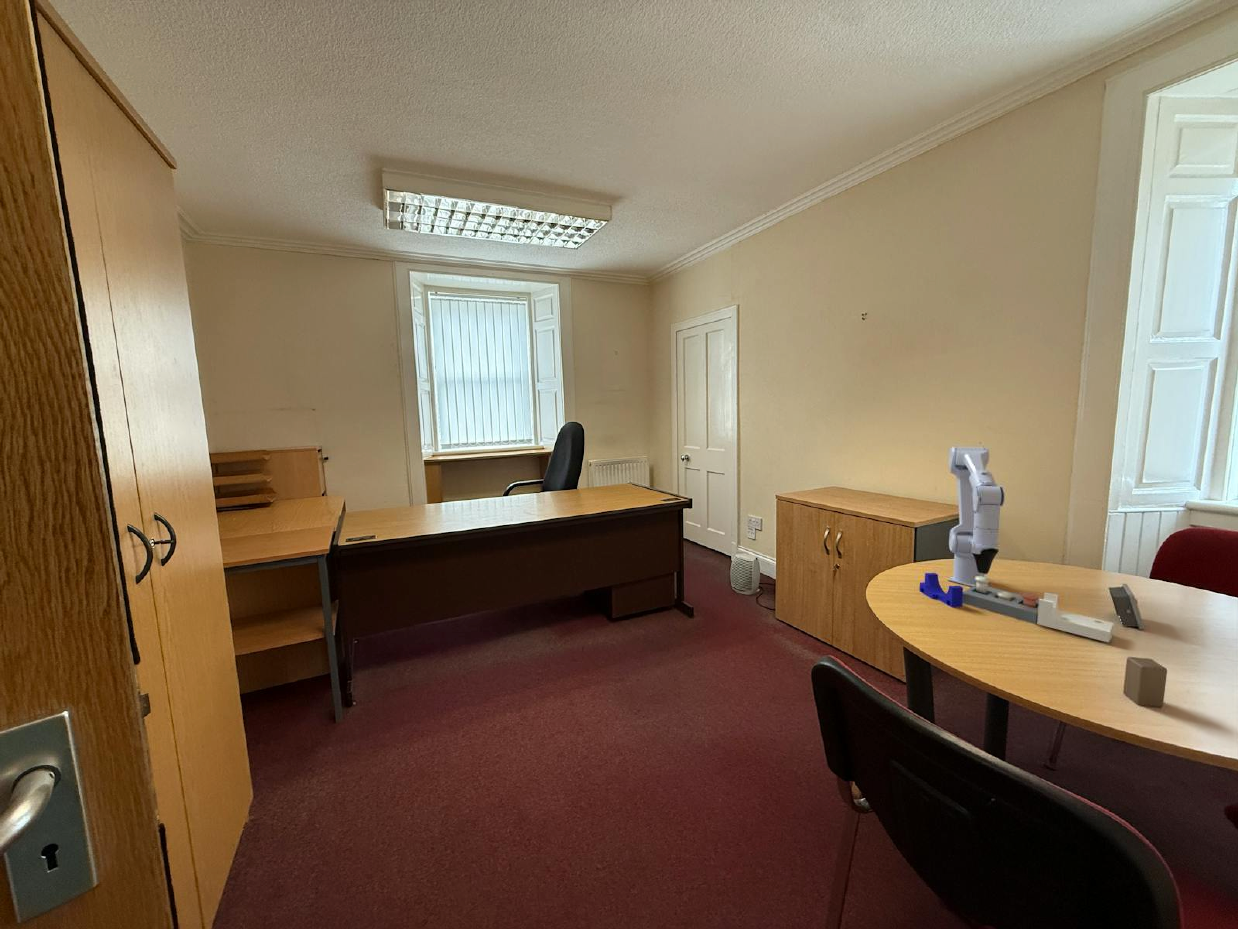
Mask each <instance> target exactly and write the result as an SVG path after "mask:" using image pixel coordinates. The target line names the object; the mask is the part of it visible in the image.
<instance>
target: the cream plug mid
mask: <svg viewBox="0 0 1238 929" xmlns="http://www.w3.org/2000/svg"><path fill="white" fill-rule="evenodd" d="M1008 592H1009V591H1007V592H1002V591H1000V592H997V596H998V597H999V599H1003V600H1007V601H1011V599H1012V598H1013V595H1012V594H1011V593H1012V592H1011V593H1008Z"/></svg>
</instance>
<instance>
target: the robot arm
mask: <svg viewBox="0 0 1238 929" xmlns="http://www.w3.org/2000/svg"><path fill="white" fill-rule="evenodd" d="M989 460H990V452H989V449H988V448H987V446H980V447H979V446H951V448H950V449H949V453H948V463H949V464H948V466H949V467H948V468H949V472H950V474H953V475H954V476H955V477H956V483H957V495H958V496H957V498H958V501H957V502H958V519H959V522H958V523H959V524H957V525H955V526H954V527H952V528H951V529H950V531H949V538H948V546H949V550H950V552H951V553H954V556H953V569H952V570H953V573H952V575H953V576H950V577H948V578H947V580H948V581H950V582H954V583H958V584H961V585H965V586H969V587H973V586H975V585H977V581H976V580H975V577H976V576H982V577H986V576H985V575H988V574H989V572H990V569H991V567H992V564H993V560H994V559H995V557H996V555H997V554H998V553H999V549H997V548H998V547H999V530H1000V529H999V528H1000V519H1001V516H1000V515H1001V507H1003V506H1004V504H1005V499H1006V498H1005V497H1006V496H1005V489H1004V486H1003V485H1000V484H997V482H996V480H995V478H994V476H993V474H992V472H990V471H989V470H986V469H987V465H988V464H989Z"/></svg>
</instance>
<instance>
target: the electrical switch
mask: <svg viewBox="0 0 1238 929" xmlns="http://www.w3.org/2000/svg"><path fill="white" fill-rule="evenodd" d="M1121 584H1122V586H1117V587H1116V586H1115V587H1113V586H1112V587H1108V590H1109V594H1110V598H1111V599H1112V603H1113V607H1114V610H1115V614H1116V616H1117V615H1118V616H1120V619H1121V621H1120V623H1121V622H1122V623H1121V626H1122V627H1137V628H1138V627H1139V628H1138V629H1140V630H1145V625H1144V622H1143V619H1142V616H1141V612H1140V608H1139V606H1138V605H1139V604H1138V599H1136V597H1135V595H1134V593H1133V591H1132V590H1131V588H1130V586H1129V585H1128V584H1127V583H1121ZM1118 616H1117V617H1118ZM1120 619H1119V620H1120Z"/></svg>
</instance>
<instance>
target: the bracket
mask: <svg viewBox="0 0 1238 929" xmlns="http://www.w3.org/2000/svg"><path fill="white" fill-rule="evenodd" d="M1038 599H1039V608H1038V620H1037V623H1036V624H1037V625H1039V626H1043V627H1047V628H1051V629H1055V630H1059V631H1062V632H1065V633H1067V632H1068V633H1072V634H1074V635H1078V636H1081V637H1085V638H1086V637H1087V638H1090V639H1094V640H1098V641H1102V642H1104V643H1110V641H1111V640H1112V638H1113V634H1114V633H1113V632H1114V624H1115V623H1114V622H1110V621H1106V620H1102V619H1098V618H1094V617H1090V616H1086V615H1082V614H1077V613H1074V612H1069V611H1064V610H1060V609H1058V604H1059V594H1054V593H1052V592H1050V593H1049V592H1044V594H1043V599H1042V598H1038Z"/></svg>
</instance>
